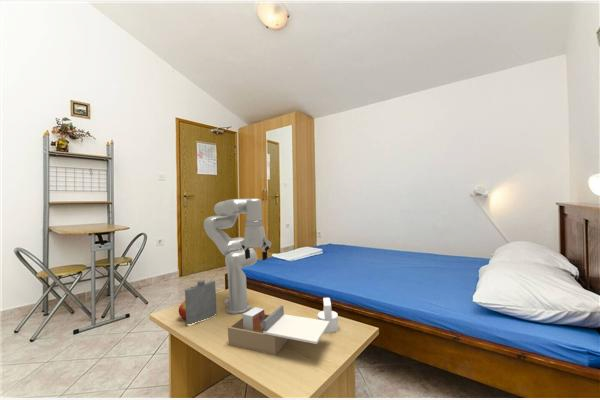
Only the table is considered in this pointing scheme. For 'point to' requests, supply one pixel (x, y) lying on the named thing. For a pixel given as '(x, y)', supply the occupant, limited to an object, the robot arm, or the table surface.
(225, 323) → the table surface
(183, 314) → the apple
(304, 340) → the lid
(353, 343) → the table surface
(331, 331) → the base with upright slab
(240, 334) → the tray
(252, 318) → the small box
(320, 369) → the table surface
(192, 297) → the grey flat upright block
